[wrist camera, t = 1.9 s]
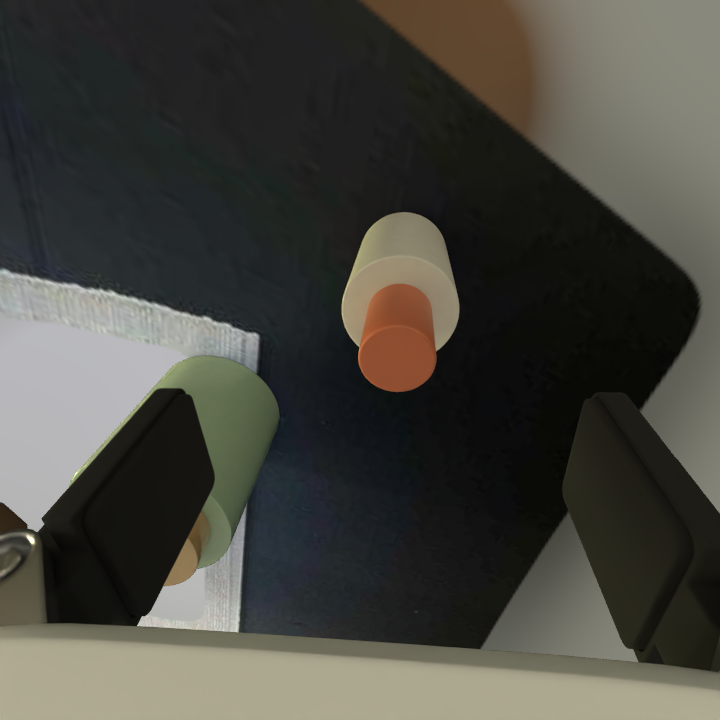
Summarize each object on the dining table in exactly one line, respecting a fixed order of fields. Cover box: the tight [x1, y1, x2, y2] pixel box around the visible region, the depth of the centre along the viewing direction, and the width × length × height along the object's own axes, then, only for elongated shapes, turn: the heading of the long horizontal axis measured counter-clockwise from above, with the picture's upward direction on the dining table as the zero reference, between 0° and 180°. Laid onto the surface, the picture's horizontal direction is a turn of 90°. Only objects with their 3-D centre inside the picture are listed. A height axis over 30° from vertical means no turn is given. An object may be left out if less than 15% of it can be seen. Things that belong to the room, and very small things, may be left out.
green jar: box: [69, 356, 280, 586], centre depth 24 cm, size 8×8×10 cm
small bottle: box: [342, 212, 459, 392], centre depth 18 cm, size 4×4×10 cm
